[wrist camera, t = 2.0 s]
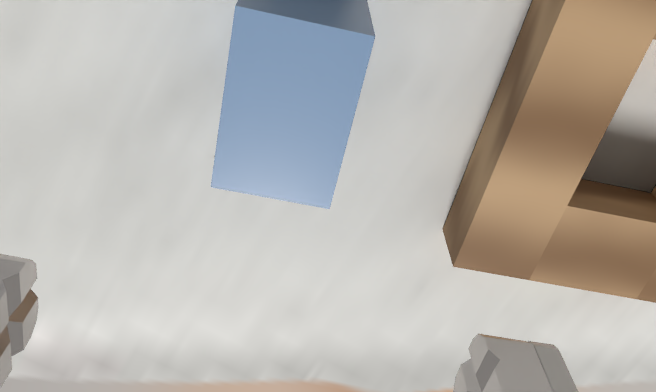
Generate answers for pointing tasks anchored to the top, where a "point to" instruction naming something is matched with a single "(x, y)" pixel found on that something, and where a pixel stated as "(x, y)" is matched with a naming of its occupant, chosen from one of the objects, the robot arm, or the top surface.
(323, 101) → the block
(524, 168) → the wooden base block
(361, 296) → the top surface
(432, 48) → the top surface
